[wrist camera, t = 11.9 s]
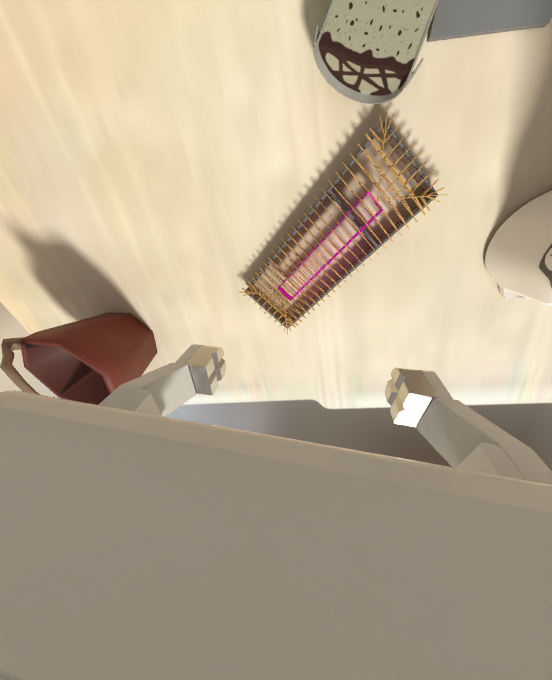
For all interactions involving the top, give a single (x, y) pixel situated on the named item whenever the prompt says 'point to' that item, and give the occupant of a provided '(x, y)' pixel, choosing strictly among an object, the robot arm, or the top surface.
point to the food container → (372, 46)
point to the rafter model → (415, 173)
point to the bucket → (83, 356)
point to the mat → (487, 17)
